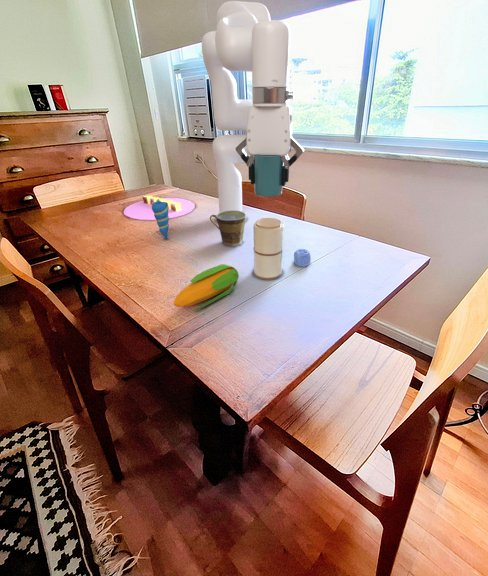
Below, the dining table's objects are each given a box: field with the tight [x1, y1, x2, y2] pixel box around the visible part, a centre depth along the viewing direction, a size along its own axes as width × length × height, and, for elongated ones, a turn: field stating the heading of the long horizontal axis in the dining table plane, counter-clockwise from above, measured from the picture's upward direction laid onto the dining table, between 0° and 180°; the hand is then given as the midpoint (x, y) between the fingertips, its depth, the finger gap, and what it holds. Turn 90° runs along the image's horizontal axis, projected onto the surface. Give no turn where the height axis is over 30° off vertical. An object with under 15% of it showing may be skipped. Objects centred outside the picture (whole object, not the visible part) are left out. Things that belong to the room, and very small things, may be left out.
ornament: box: [152, 197, 170, 240], centre depth 103 cm, size 5×5×15 cm
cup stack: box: [253, 217, 285, 281], centre depth 83 cm, size 8×8×15 cm
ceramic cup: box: [209, 210, 247, 247], centre depth 102 cm, size 13×10×10 cm
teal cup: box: [253, 155, 284, 198], centre depth 72 cm, size 7×7×9 cm
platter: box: [123, 194, 196, 221], centre depth 137 cm, size 32×32×3 cm
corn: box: [172, 263, 240, 312], centre depth 74 cm, size 7×8×20 cm
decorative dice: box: [293, 248, 311, 267], centre depth 90 cm, size 4×4×4 cm
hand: (268, 183), depth 73 cm, fingers closed on teal cup, 7 cm apart
